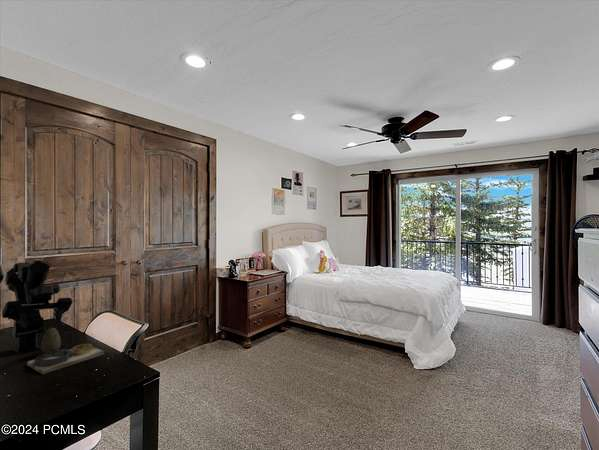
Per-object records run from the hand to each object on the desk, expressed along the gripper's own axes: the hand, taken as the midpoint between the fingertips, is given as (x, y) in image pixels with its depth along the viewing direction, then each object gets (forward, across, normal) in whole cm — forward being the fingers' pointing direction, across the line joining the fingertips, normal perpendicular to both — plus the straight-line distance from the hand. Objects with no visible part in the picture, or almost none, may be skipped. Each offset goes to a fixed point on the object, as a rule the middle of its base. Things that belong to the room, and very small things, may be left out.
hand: (43, 325), depth 105 cm
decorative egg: (+1, +7, +18) cm, 19 cm away
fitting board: (+9, +9, +10) cm, 16 cm away
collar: (+9, +5, +10) cm, 15 cm away
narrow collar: (+8, +14, +10) cm, 19 cm away
